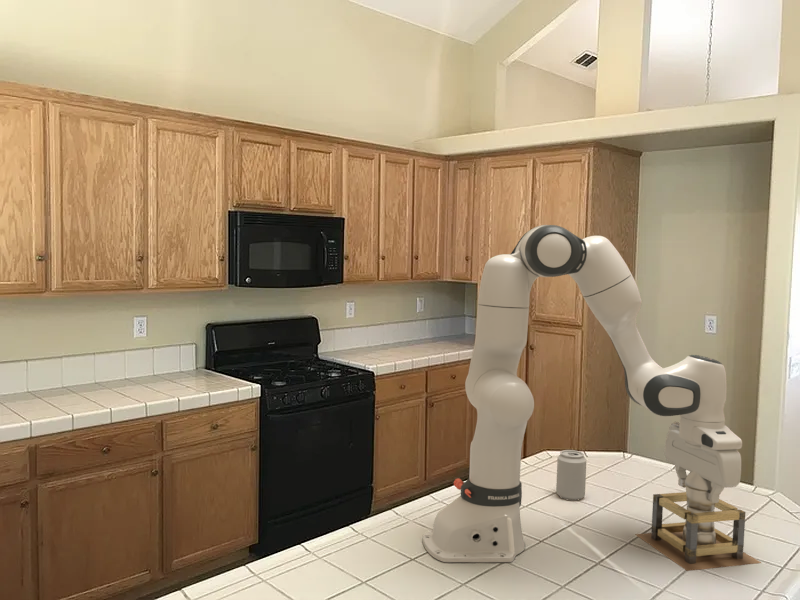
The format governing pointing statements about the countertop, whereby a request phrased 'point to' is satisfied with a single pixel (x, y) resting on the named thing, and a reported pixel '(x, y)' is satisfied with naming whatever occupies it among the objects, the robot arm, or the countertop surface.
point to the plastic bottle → (700, 507)
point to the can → (571, 475)
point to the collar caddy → (693, 519)
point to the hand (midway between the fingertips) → (697, 493)
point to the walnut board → (701, 561)
